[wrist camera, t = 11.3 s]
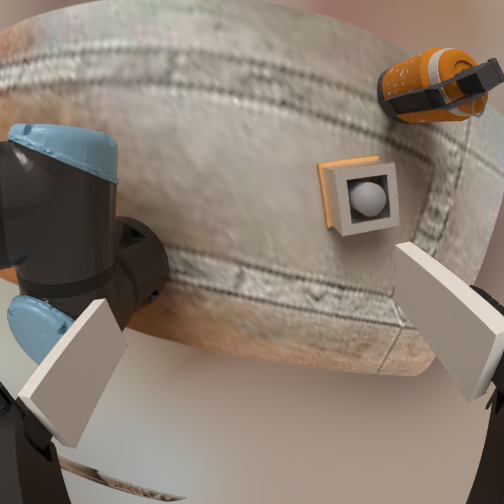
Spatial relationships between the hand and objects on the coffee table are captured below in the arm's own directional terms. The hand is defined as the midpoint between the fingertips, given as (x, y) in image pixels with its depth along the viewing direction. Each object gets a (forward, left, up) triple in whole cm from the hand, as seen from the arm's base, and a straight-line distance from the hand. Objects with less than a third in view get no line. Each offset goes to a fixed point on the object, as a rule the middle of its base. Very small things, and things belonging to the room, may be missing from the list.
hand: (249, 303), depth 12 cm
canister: (+24, +11, -29) cm, 39 cm away
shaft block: (+14, -2, -29) cm, 32 cm away
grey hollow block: (+14, -2, -28) cm, 31 cm away
